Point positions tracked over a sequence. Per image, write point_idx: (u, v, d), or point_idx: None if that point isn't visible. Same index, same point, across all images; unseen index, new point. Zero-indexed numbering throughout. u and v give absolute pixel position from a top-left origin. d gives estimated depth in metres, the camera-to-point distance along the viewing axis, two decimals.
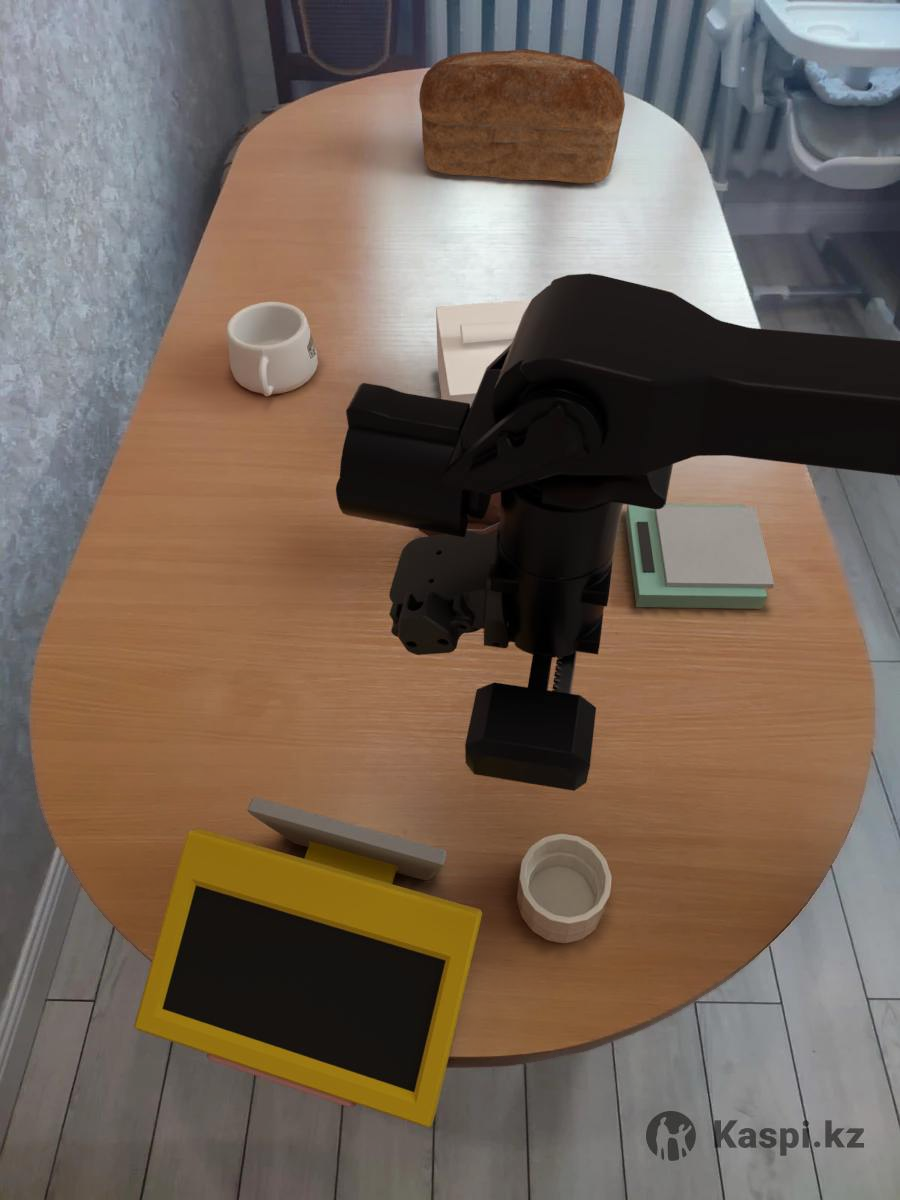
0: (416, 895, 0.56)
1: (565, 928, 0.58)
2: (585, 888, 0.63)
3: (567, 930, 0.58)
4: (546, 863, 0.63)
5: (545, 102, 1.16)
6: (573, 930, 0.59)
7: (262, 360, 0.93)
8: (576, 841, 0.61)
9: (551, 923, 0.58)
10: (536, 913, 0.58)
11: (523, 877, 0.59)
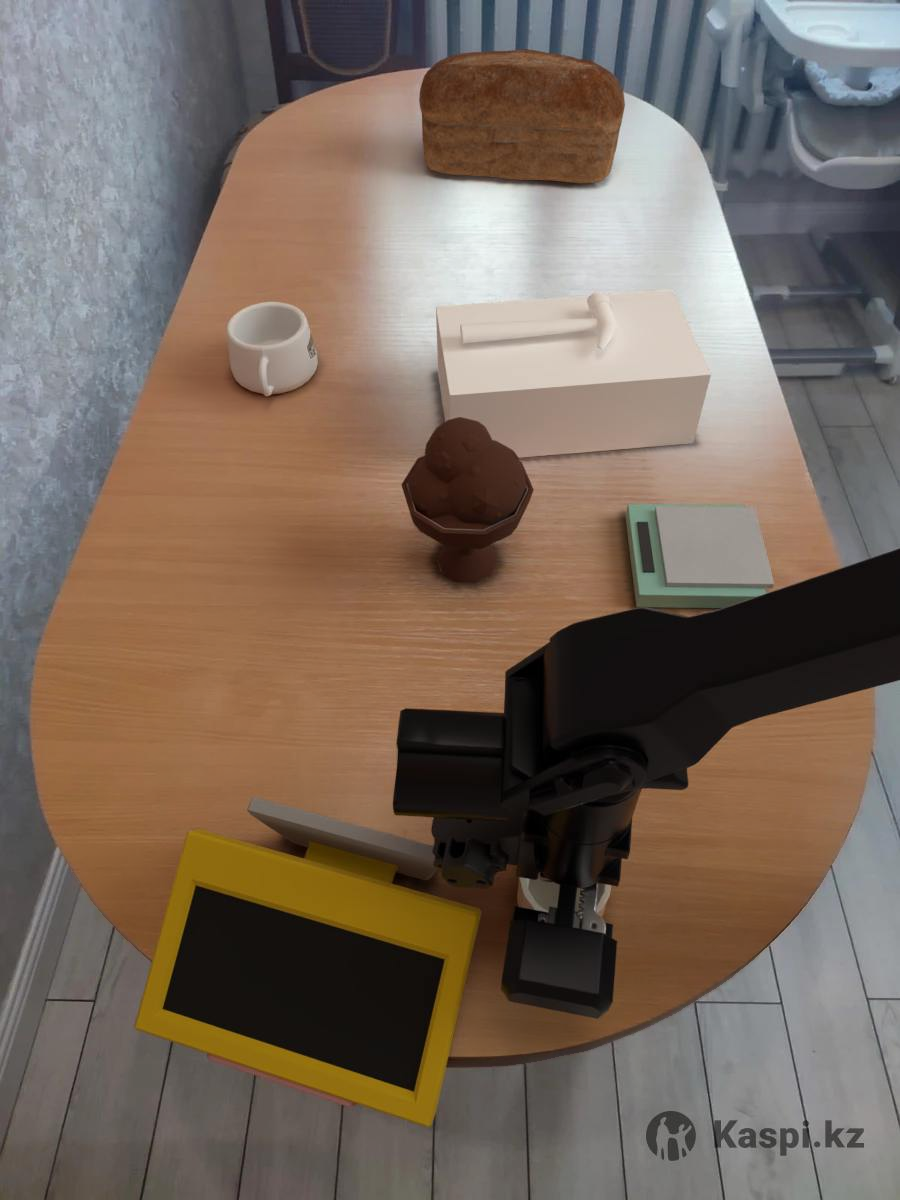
0: (415, 894, 0.56)
1: None
2: None
3: None
4: None
5: (545, 102, 1.16)
6: None
7: (262, 360, 0.93)
8: None
9: None
10: None
11: None
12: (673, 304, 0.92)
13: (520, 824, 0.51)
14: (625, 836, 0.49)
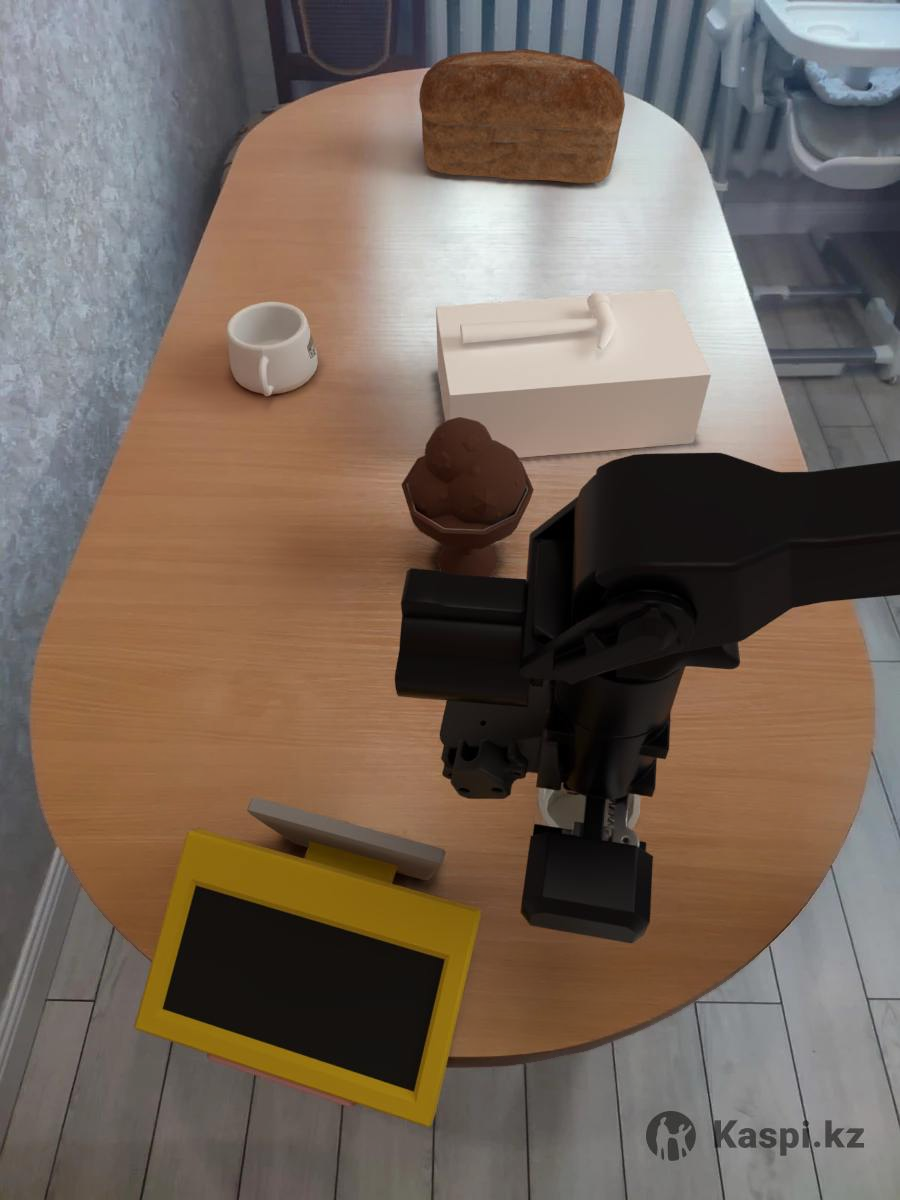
0: (415, 894, 0.56)
1: None
2: (609, 816, 0.56)
3: None
4: None
5: (545, 102, 1.16)
6: None
7: (262, 360, 0.93)
8: None
9: None
10: None
11: (541, 798, 0.53)
12: (673, 304, 0.92)
13: (541, 724, 0.45)
14: (663, 732, 0.43)
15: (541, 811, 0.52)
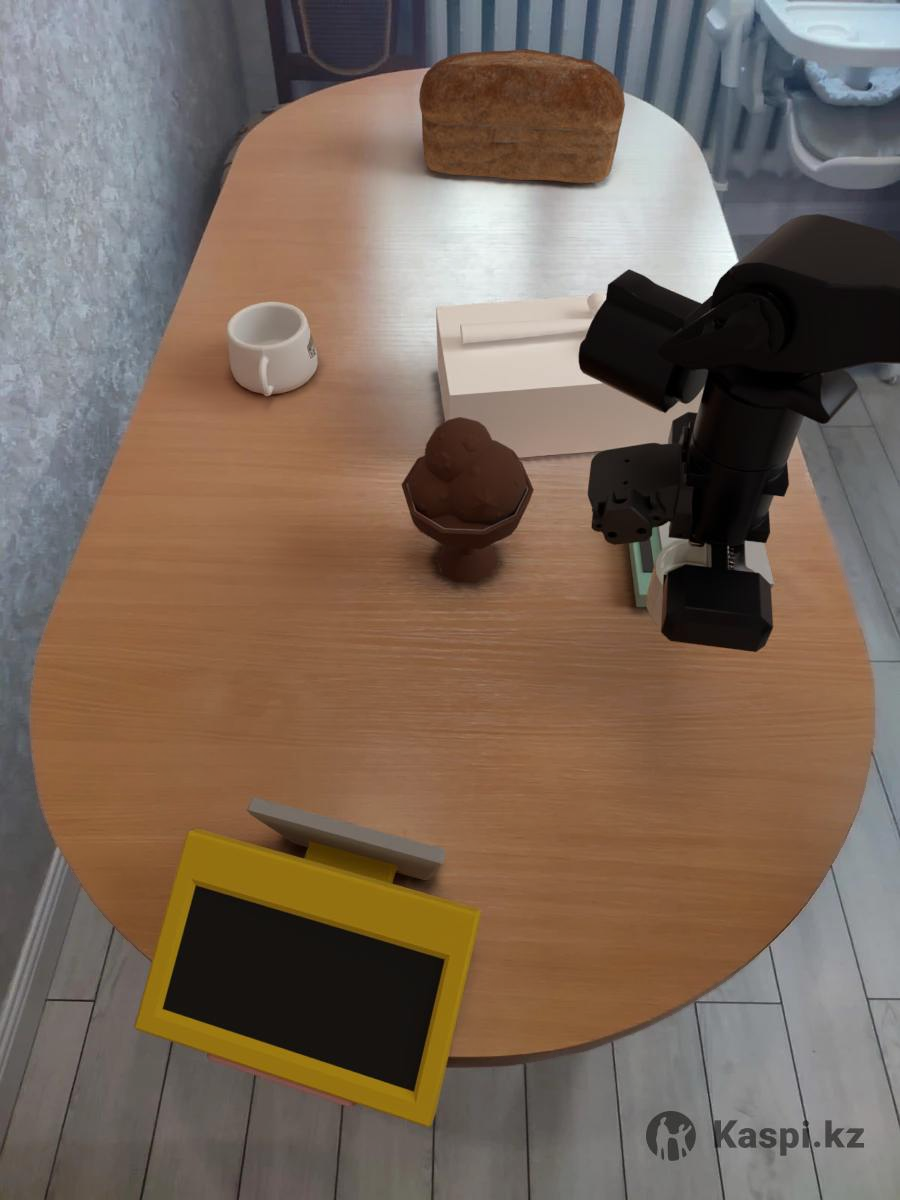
0: (415, 894, 0.56)
1: None
2: None
3: None
4: None
5: (545, 102, 1.16)
6: None
7: (262, 360, 0.93)
8: (705, 544, 0.64)
9: None
10: None
11: (659, 571, 0.62)
12: None
13: (677, 477, 0.54)
14: (782, 473, 0.52)
15: (659, 580, 0.62)
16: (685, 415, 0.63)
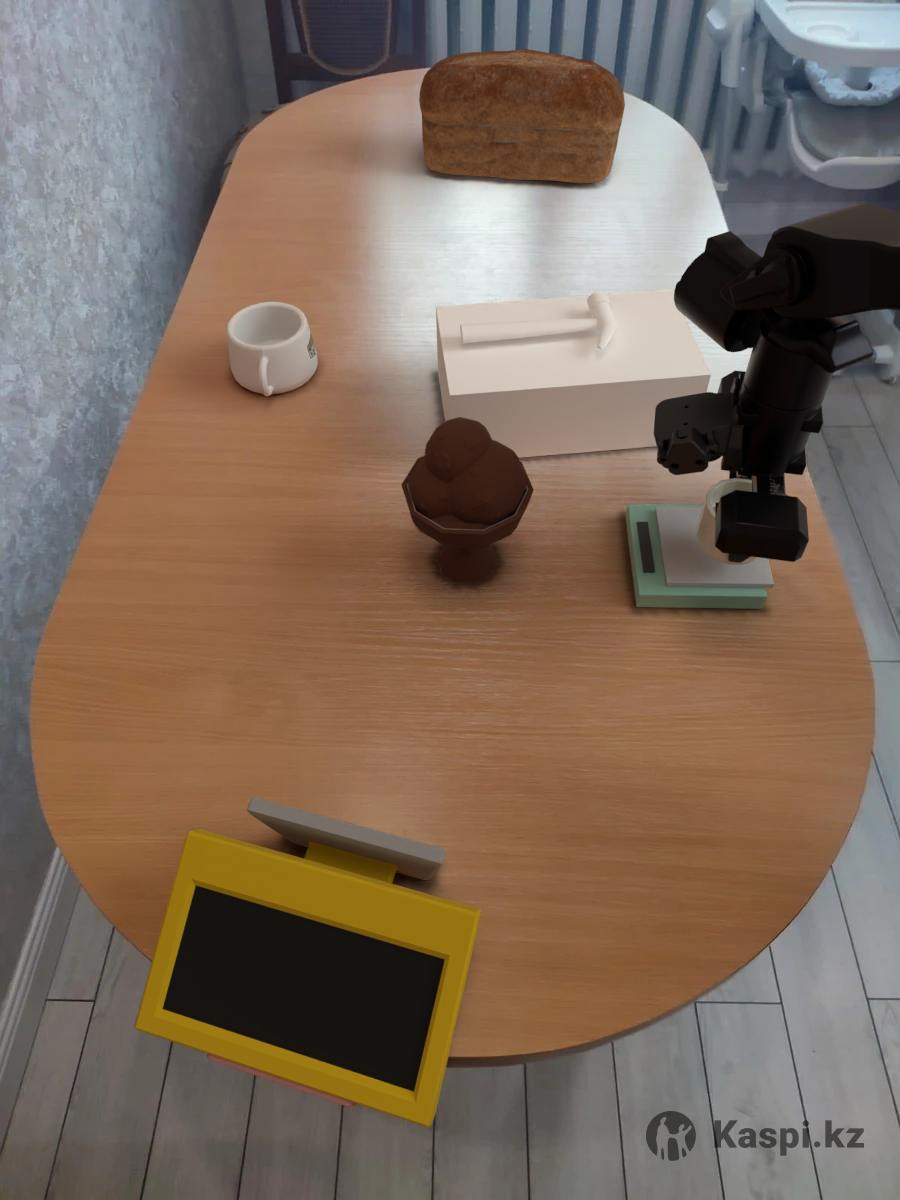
0: (415, 894, 0.56)
1: None
2: None
3: None
4: None
5: (545, 102, 1.16)
6: None
7: (262, 360, 0.93)
8: (748, 483, 0.75)
9: None
10: None
11: (709, 504, 0.74)
12: (673, 304, 0.92)
13: (730, 418, 0.66)
14: (818, 414, 0.64)
15: (710, 511, 0.73)
16: (732, 373, 0.74)
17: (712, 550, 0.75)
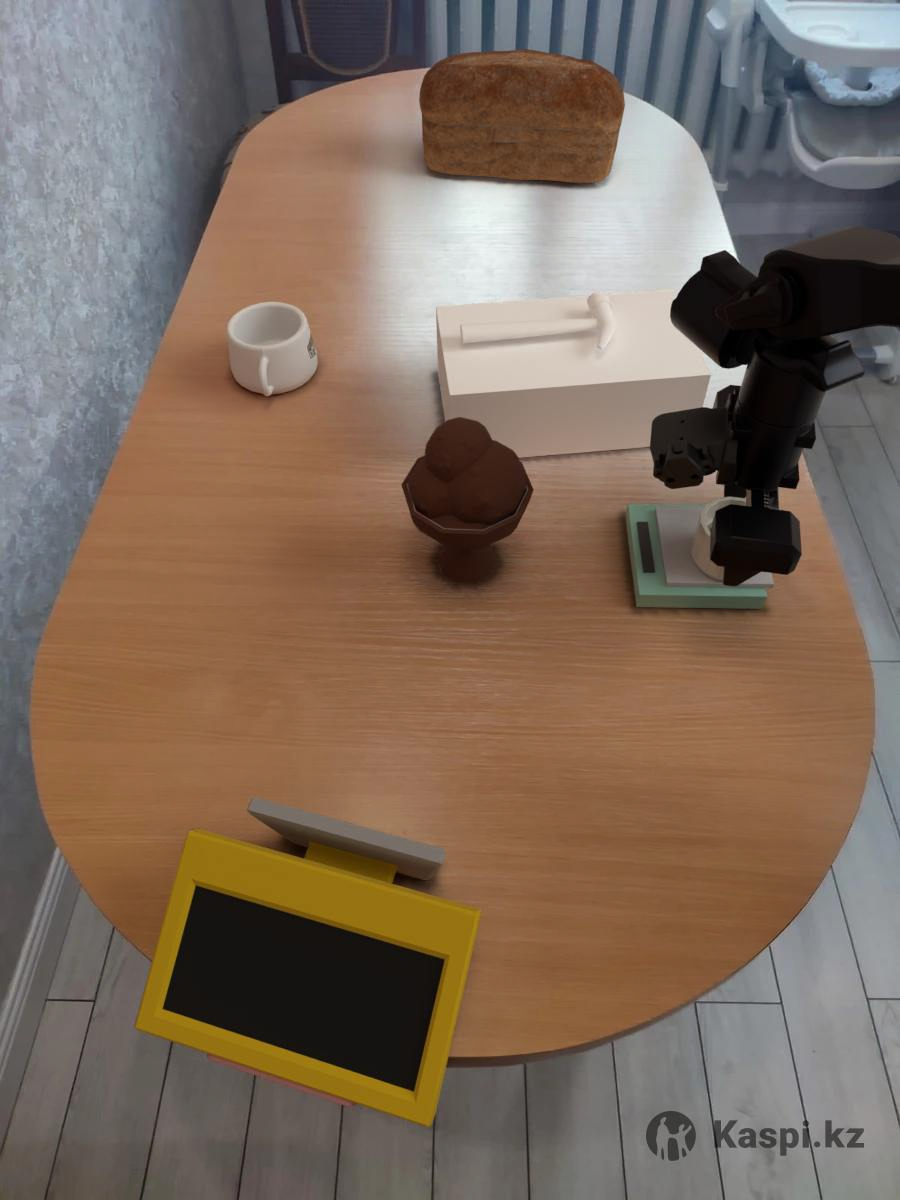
0: (415, 894, 0.56)
1: None
2: None
3: None
4: None
5: (545, 102, 1.16)
6: None
7: (262, 360, 0.93)
8: (741, 501, 0.77)
9: None
10: None
11: (703, 522, 0.75)
12: None
13: (724, 433, 0.67)
14: (811, 430, 0.65)
15: (704, 529, 0.75)
16: (728, 387, 0.75)
17: (706, 567, 0.77)
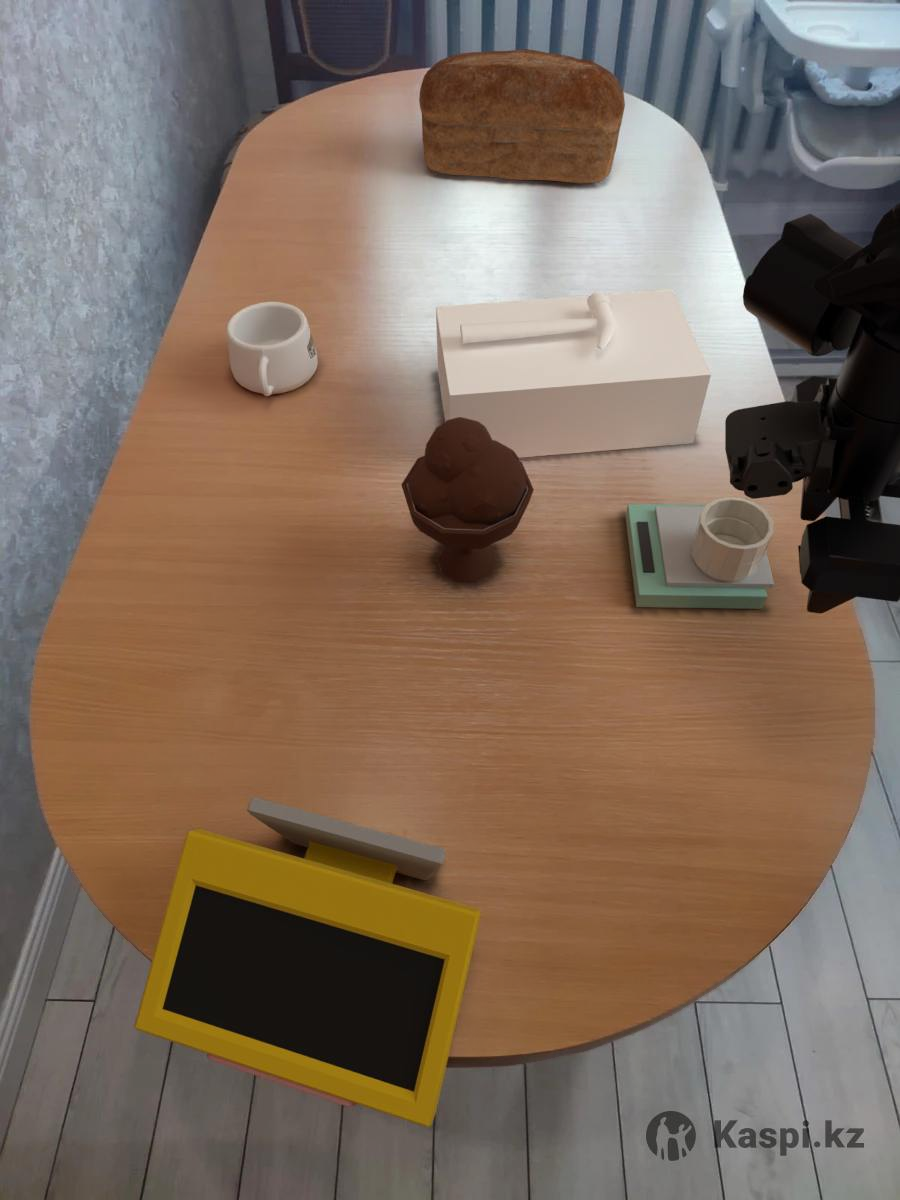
0: (415, 894, 0.56)
1: (739, 557, 0.74)
2: None
3: (739, 560, 0.75)
4: (713, 528, 0.79)
5: (545, 102, 1.16)
6: (744, 561, 0.75)
7: (262, 360, 0.93)
8: (741, 501, 0.77)
9: (728, 552, 0.74)
10: (716, 545, 0.74)
11: (703, 522, 0.75)
12: (673, 304, 0.92)
13: (818, 432, 0.56)
14: None
15: (704, 529, 0.75)
16: (810, 379, 0.64)
17: (706, 567, 0.77)
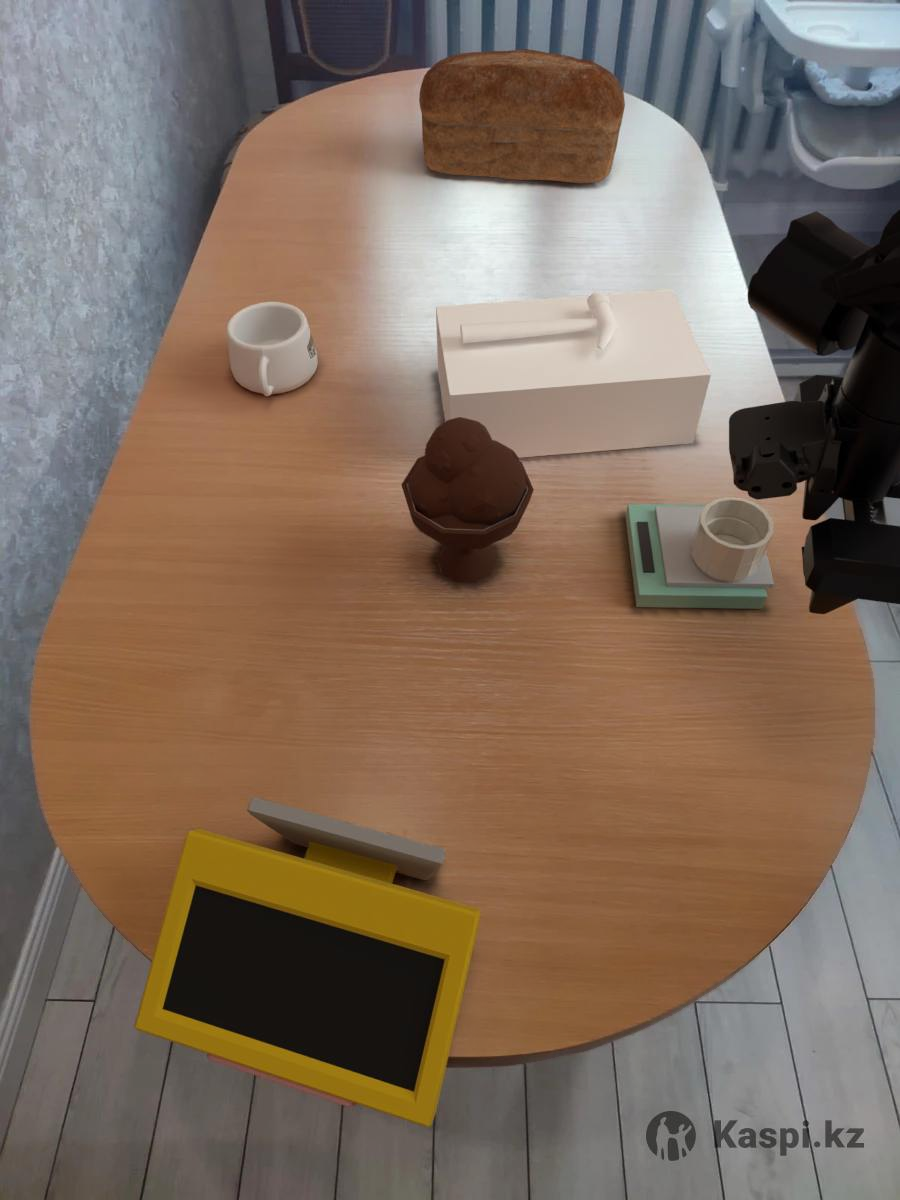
0: (415, 894, 0.56)
1: (739, 557, 0.74)
2: None
3: (739, 560, 0.75)
4: (713, 528, 0.79)
5: (545, 102, 1.16)
6: (744, 561, 0.75)
7: (262, 360, 0.93)
8: (741, 501, 0.77)
9: (728, 552, 0.74)
10: (716, 545, 0.74)
11: (703, 522, 0.75)
12: (673, 304, 0.92)
13: (822, 432, 0.55)
14: None
15: (704, 529, 0.75)
16: (813, 378, 0.64)
17: (706, 567, 0.77)
